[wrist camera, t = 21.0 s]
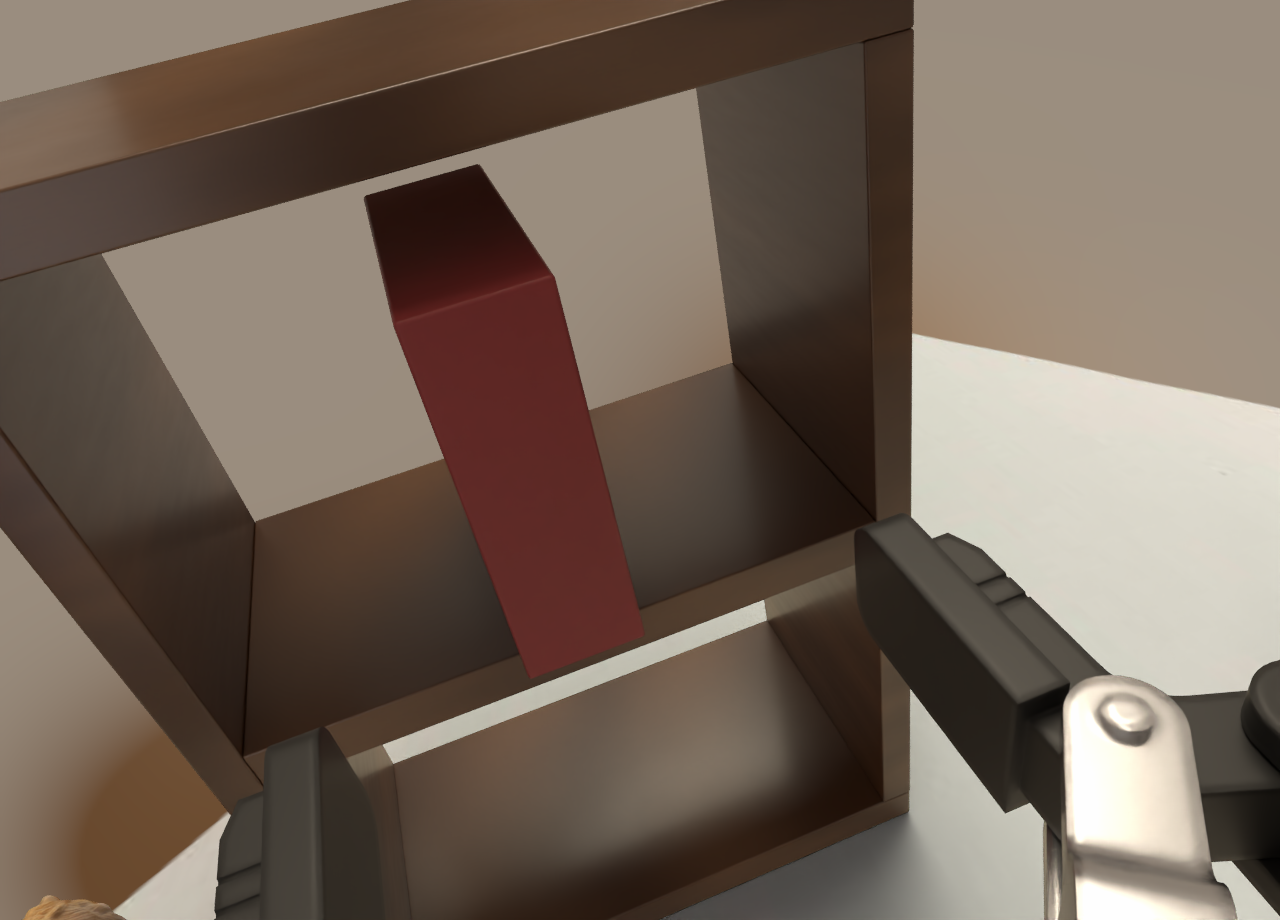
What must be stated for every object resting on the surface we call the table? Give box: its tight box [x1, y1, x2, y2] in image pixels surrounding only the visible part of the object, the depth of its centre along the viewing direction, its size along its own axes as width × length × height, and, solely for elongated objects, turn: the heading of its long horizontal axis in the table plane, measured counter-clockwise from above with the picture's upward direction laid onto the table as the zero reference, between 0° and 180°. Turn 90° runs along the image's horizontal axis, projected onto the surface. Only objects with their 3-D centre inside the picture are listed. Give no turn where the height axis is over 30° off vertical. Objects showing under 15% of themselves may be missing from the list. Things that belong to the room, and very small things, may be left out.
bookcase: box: [0, 0, 914, 920], centre depth 30 cm, size 21×11×32 cm, turn 109°
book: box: [364, 164, 645, 679], centre depth 25 cm, size 3×9×11 cm, turn 19°
